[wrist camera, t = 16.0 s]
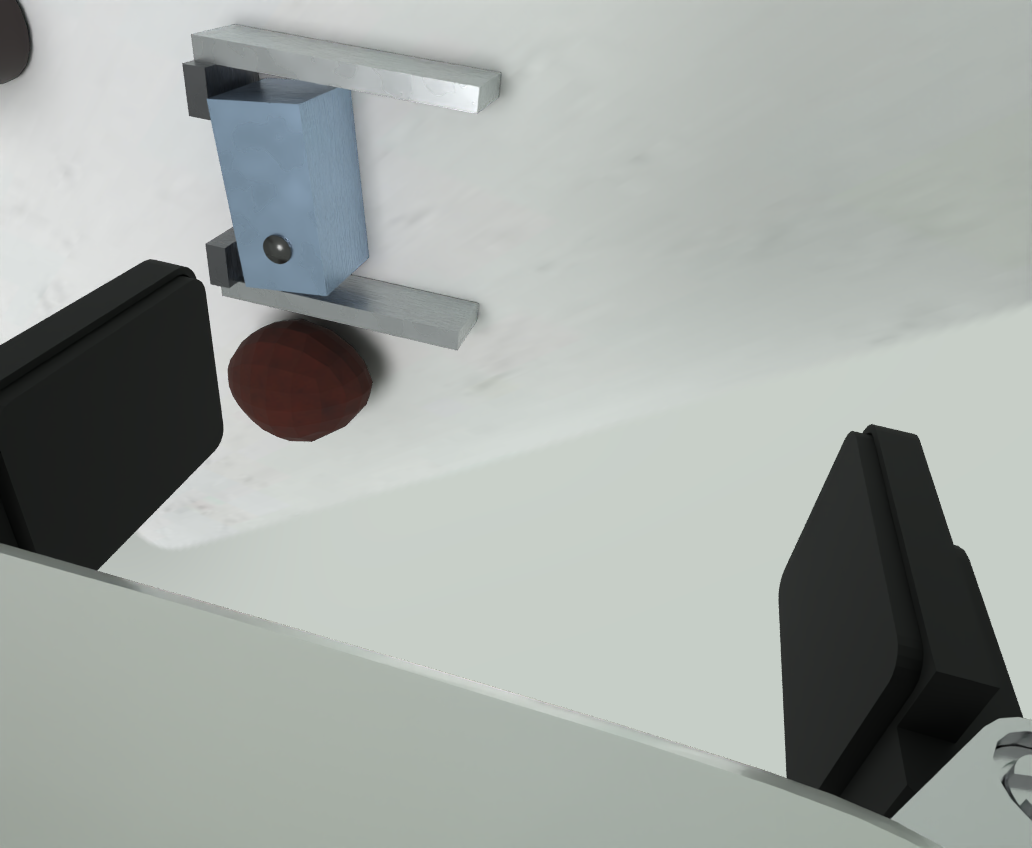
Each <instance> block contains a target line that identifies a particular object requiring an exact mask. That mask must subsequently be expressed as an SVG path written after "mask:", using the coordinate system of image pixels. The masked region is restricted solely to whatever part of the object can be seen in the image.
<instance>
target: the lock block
mask: <svg viewBox="0 0 1032 848" xmlns="http://www.w3.org/2000/svg"><path fill="white" fill-rule="evenodd" d="M207 104H208V109H209V113H210V118H211V123H212V128H213V132H214V137H215V142H216V147H217V151H218V156H219V161H220V166H221V171H222V175H223V180H224V185H225V190H226V194H227V199H228V204H229V209H230V213H231V218H232V223H233V228H234V233H235V237H236V242H237V247H238V252H239V256H240V261H241V266H242V271H243V275H244V280H245V285H246V287H251V288H260V289H269V290H278V291H286V292H295V293H304V294H313V295H321V296H328V295H329V294H330V293H331V292H332V291H333V290H334V289H335V288H336V287H337V286H339V285H340V284H341V283H342V282H343V281H344V280H345V279H346V278H347V277H348V276H349V275H350V274H352V273H353V272H354V271H355V270H356V269H357V268H358V267H359V266H360V265H361V264H362V263H364V262H365V261H366V260H367V259H368V258H369V252H368V243H367V234H366V225H365V216H364V207H363V198H362V189H361V180H360V171H359V161H358V152H357V143H356V134H355V125H354V116H353V107H352V98H351V90H349V89H343V88H338V87H333V86H328V85H322V84H317V83H312V82H306V81H301V80H296V79H277V78H265V79H262V80H259V81H256V82H253V83H251V84H248V85H245V86H242V87H239V88H236V89H233V90H230V91H228V92H225V93H222V94H219V95H216V96H213V97H210V98H208V99H207Z"/></svg>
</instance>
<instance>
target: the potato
mask: <svg viewBox="0 0 1032 848" xmlns="http://www.w3.org/2000/svg"><path fill="white" fill-rule="evenodd" d="M228 381H229V388H230V390H231V393H232V395H233V397H234V399H235V400H236V402H237V403H238V405H239V406H240V408H241V409H242V410H243V411H244V412H245V413H246V414H247V416H248V417H249V418H250V419H251V420H252V421H253V422H255V423H256V424H257V425H258V426H259V427H261V428H262V429H263V430H265V431H267V432H269V433H271V434H273V435H275V436H277V437H279V438H282V439H286V440H289V441H309V442H312V441H315V440H317V439H319V438H321V437H323V436H325V435H328V434H330V433H332V432H334V431H336V430H338V429H341V428H343V427H345V426H346V425H347V424H348V423H349V422H350V421H351V420H352V419H353V418H354V417H355V416H356V415H357V414H358V413H359V412H360V411H361V409H362V408H363V407H364V406H365V405H366V404H367V401H368V399H369V395H370V391H371V387H372V383H373V382H372V379H371V377H370V374H369V371H368V369H367V366H366V364H365V362H364V360H363V359H362V358H361V357H360V355H359V354H358V353H357V352H356V350H355V349H354V348H353V347H352V346H351V345H350V344H348V343H347V342H346V341H345V340H343V339H342V338H341V337H340V336H338V335H337V334H336V333H334V332H333V331H332V330H329V329H327V328H324V327H322V326H319V325H316V324H314V323H311V322H309V321H306V320H303V319H298V320H288V321H280V322H274V323H272V324H270V325H267V326H265V327H263V328H260V329H259V330H257V331H255V332H254V333H252V334H251V335H250V336H248V337H247V338H246V339H245V340H244V341H243V342H242V343H241V344H240V346H239V347H238V349H237V350H236V352H235V354H234V355H233V357H232V358H231V360H230V363H229V366H228Z"/></svg>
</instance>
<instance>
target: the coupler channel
mask: <svg viewBox="0 0 1032 848" xmlns="http://www.w3.org/2000/svg"><path fill="white" fill-rule="evenodd" d="M191 38H192V46H193V54H194V60H193V61H190V62H186V63H182V64H183V72H184V80H185V87H186V95H187V103H188V111H189V116H192V117H197V118H202V119H207V120H211V118H210V113H209V109H208V104H207V99H208V98H210V97H213V96H216V95H219V94H222V93H225V92H228V91H230V90H233V89H236V88H239V87H242V86H245V85H248V84H251V83H253V82H256V81H259V76H258V72H259V73H264V74H269V75H275V76H280V77H285V78H291V79H296V80H301V81H306V82H312V83H317V84H322V85H328V86H333V87H338V88H343V89H349V90H354V91H359V92H365V93H370V94H375V95H380V96H386V97H391V98H396V99H402V100H407V101H412V102H417V103H423V104H428V105H433V106H439V107H444V108H449V109H454V110H460V111H465V112H470V113H476V114H477V113H479V112H480V111H481V110H483V109H484V108H485V107H487V106H488V105H489V104H491V103H492V102H493V101H494V100H496V99H497V98H498V97H499V90H500V80H501V72H495V71H490V70H484V69H479V68H473V67H468V66H462V65H457V64H451V63H446V62H440V61H434V60H429V59H423V58H418V57H412V56H407V55H401V54H396V53H390V52H385V51H379V50H374V49H368V48H363V47H357V46H352V45H346V44H340V43H335V42H329V41H324V40H318V39H313V38H307V37H302V36H296V35H291V34H285V33H280V32H274V31H269V30H263V29H257V28H252V27H246V26H241V25H235V24H234V25H229V26H225V27H221V28H216V29H212V30H207V31H203V32H198V33H194V34H191ZM206 252H207V259H208V267H209V275H210V283H211V284H213V285H217V286H221V289H222V296H226V297H231V298H235V299H239V300H244V301H248V302H252V303H256V304H261V305H265V306H269V307H274V308H278V309H282V310H286V311H291V312H295V313H299V314H304V315H308V316H312V317H316V318H321V319H325V320H329V321H334V322H338V323H342V324H346V325H351V326H355V327H359V328H364V329H368V330H372V331H376V332H381V333H385V334H389V335H394V336H398V337H402V338H406V339H411V340H415V341H419V342H424V343H428V344H432V345H436V346H441V347H445V348H449V349H454V350H458V349H459V347H460V346H461V344H462V343H463V341H464V340H465V338H466V336H467V335H468V333H469V332H470V330H471V329H472V327H473V326H474V324H475V323H476V321H477V315H478V305H479V303H475V302H471V301H467V300H462V299H458V298H453V297H449V296H444V295H440V294H435V293H431V292H426V291H422V290H417V289H413V288H408V287H404V286H399V285H395V284H391V283H386V282H382V281H377V280H373V279H368V278H364V277H359V276H355V275H349V276H348V277H347V278H346V279H345V280H344V281H343V282H342V283H341V284H340V285H339V286H337V287H336V288H335V289H334V290H333V291H332V292H331V293H330V294H329V295H328V296H321V295H313V294H304V293H295V292H286V291H278V290H269V289H260V288H251V287H246V285H245V280H244V275H243V271H242V266H241V261H240V256H239V252H238V247H237V242H236V237H235V233H234V228H233V227H232V228H230V229H229V230H227V231H226V232H224V233H222V234H221V235H219V236H218V237H216V238H214V239H213V240H211V241H209V242H208V243H206Z"/></svg>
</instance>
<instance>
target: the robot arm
mask: <svg viewBox="0 0 1032 848" xmlns="http://www.w3.org/2000/svg"><path fill="white" fill-rule="evenodd" d="M222 436H223V419H222V411H221V404H220V396H219V389H218V381H217V374H216V366H215V359H214V351H213V344H212V336H211V329H210V321H209V314H208V306H207V299H206V292H205V288H204V285H203V284H202V282H201V281H199V280H197V279H196V276H195V274H194V273H193V271H192V270H191V269H189V268H188V267H184V266H179V265H175V264H171V263H166V262H162V261H157V260H152V259H149V260H146V261H144V262H142V263H140V264H139V265H137V266H135V267H133V268H132V269H130V270H128V271H127V272H125V273H123V274H121V275H120V276H118V277H116V278H115V279H113V280H111V281H109V282H108V283H106V284H104V285H103V286H101V287H99V288H97V289H96V290H94V291H92V292H91V293H89V294H87V295H86V296H84V297H82V298H80V299H79V300H77V301H75V302H74V303H72V304H70V305H68V306H67V307H65V308H63V309H62V310H60V311H58V312H56V313H55V314H53V315H51V316H50V317H48V318H46V319H44V320H43V321H41V322H39V323H38V324H36V325H34V326H33V327H31V328H29V329H27V330H26V331H24V332H22V333H21V334H19V335H17V336H15V337H14V338H12V339H10V340H9V341H7V342H5V343H3V344H2V345H0V848H1032V720H1031V719H1026V718H1023V715H1022V713H1021V710H1020V707H1019V704H1018V701H1017V698H1016V695H1015V692H1014V689H1013V686H1012V683H1011V680H1010V677H1009V674H1008V671H1007V669H1006V666H1005V663H1004V660H1003V657H1002V654H1001V651H1000V648H999V645H998V642H997V639H996V637H995V634H994V630H993V628H992V625H991V622H990V619H989V616H988V613H987V610H986V607H985V604H984V601H983V598H982V595H981V592H980V589H979V587H978V584H977V581H976V578H975V575H974V572H973V569H972V566H971V563H970V560H969V559H968V556H967V554H966V553H965V551H964V550H963V549H961V548H960V547H959V546H956V545H953V541H952V538H951V535H950V532H949V529H948V526H947V523H946V520H945V517H944V514H943V511H942V508H941V504H940V502H939V498H938V495H937V492H936V489H935V486H934V483H933V480H932V477H931V474H930V471H929V468H928V465H927V461H926V458H925V455H924V452H923V449H922V446H921V443H920V440H919V438H918V436H917V435H915V434H912V433H907V432H903V431H898V430H894V429H890V428H886V427H881V426H877V425H872V424H871V425H869V426H867V428H866V429H865V430H864V431H863V433H859V432H854V431H851V432H850V433H849V434H848V435H847V437H846V438H845V440H844V442H843V445H842V447H841V449H840V451H839V453H838V455H837V458H836V460H835V462H834V464H833V466H832V468H831V470H830V473H829V475H828V477H827V479H826V481H825V483H824V486H823V488H822V490H821V492H820V494H819V496H818V499H817V501H816V503H815V505H814V507H813V509H812V512H811V514H810V516H809V518H808V520H807V523H806V524H805V527H804V529H803V531H802V533H801V535H800V537H799V540H798V542H797V544H796V546H795V549H794V550H793V553H792V555H791V557H790V559H789V561H788V563H787V565H786V568H785V570H784V573H783V575H782V578H781V582H780V587H779V620H780V642H781V663H782V683H783V684H782V685H783V708H784V728H785V751H786V772H787V778H784V777H782V776H779V775H776V774H773V773H771V772H768V771H765V770H762V769H759V768H756V767H752V766H750V765H746V764H743V763H740V762H737V761H734V760H731V759H727V758H724V757H721V756H718V755H715V754H712V753H708V752H705V751H702V750H698V749H696V748H693V747H689V746H686V745H683V744H680V743H677V742H673V741H670V740H667V739H664V738H661V737H658V736H654V735H651V734H648V733H645V732H642V731H638V730H635V729H632V728H629V727H626V726H623V725H619V724H616V723H613V722H609V721H606V720H603V719H599V718H596V717H593V716H589V715H586V714H583V713H579V712H576V711H573V710H569V709H566V708H562V707H559V706H556V705H553V704H549V703H546V702H543V701H539V700H536V699H532V698H529V697H526V696H523V695H519V694H516V693H513V692H509V691H506V690H502V689H499V688H496V687H492V686H489V685H486V684H482V683H479V682H476V681H472V680H469V679H466V678H462V677H459V676H456V675H452V674H449V673H446V672H442V671H439V670H435V669H432V668H429V667H426V666H422V665H419V664H415V663H412V662H409V661H405V660H402V659H398V658H395V657H392V656H388V655H384V654H381V653H378V652H375V651H371V650H368V649H364V648H361V647H358V646H354V645H351V644H347V643H344V642H341V641H337V640H333V639H330V638H327V637H323V636H320V635H316V634H313V633H309V632H307V631H303V630H300V629H296V628H293V627H289V626H286V625H282V624H279V623H276V622H272V621H269V620H266V619H262V618H259V617H255V616H252V615H248V614H245V613H242V612H238V611H235V610H231V609H228V608H224V607H221V606H218V605H214V604H211V603H207V602H204V601H200V600H197V599H194V598H190V597H187V596H183V595H180V594H176V593H173V592H169V591H166V590H162V589H159V588H155V587H152V586H148V585H145V584H142V583H138V582H135V581H131V580H128V579H124V578H120V577H117V576H113V575H110V574H107V573H103V572H100V571H97V570H98V569H99V568H100V567H101V566H102V565H103V564H104V563H105V562H106V561H107V560H108V559H109V558H110V557H111V556H112V555H113V554H114V553H115V552H116V551H117V550H118V549H119V548H120V547H121V546H122V545H123V544H124V543H125V542H126V541H127V539H129V538H130V536H131V535H133V534H134V532H135V531H136V530H137V529H138V528H139V527H140V526H141V525H142V524H143V523H144V522H145V521H146V520H147V519H148V518H149V517H150V516H151V515H152V514H153V513H154V512H155V511H156V510H157V509H158V508H159V507H160V506H161V505H162V504H163V503H164V502H165V501H166V500H167V499H168V498H169V497H170V496H171V495H172V494H173V493H174V492H175V491H176V490H177V489H178V488H179V487H180V486H181V485H182V484H183V483H184V482H185V481H186V480H187V479H188V477H189V476H190V475H191V474H192V473H193V472H194V471H195V470H196V469H197V468H198V467H199V466H200V465H201V464H202V463H203V462H204V461H205V460H206V459H207V458H208V457H209V456H210V455H211V454H212V453H213V452H214V451H215V450H216V449H217V447H218V446H219V444H220V442H221V439H222Z"/></svg>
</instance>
